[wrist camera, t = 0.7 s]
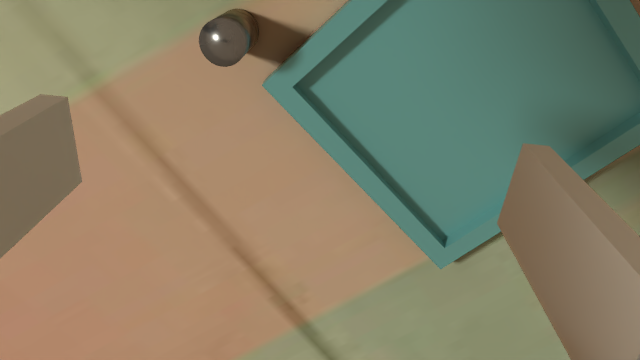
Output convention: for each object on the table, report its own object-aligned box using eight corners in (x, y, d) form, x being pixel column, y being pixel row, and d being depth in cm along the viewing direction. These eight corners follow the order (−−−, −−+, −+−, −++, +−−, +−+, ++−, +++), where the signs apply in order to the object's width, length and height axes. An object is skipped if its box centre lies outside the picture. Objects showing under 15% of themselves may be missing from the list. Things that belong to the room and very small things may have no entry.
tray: (265, 78, 36) (261, 85, 34) (519, -162, 28) (530, -168, 26) (436, 257, 42) (440, 269, 41) (678, 102, 35) (695, 110, 33)
